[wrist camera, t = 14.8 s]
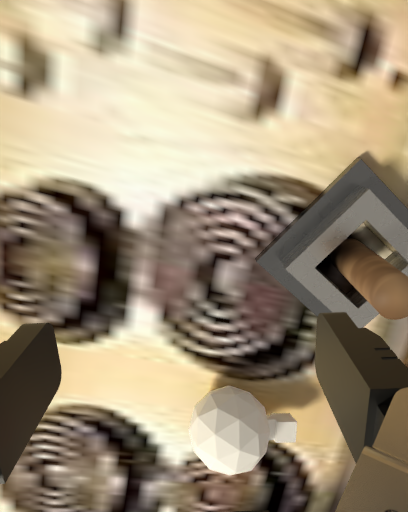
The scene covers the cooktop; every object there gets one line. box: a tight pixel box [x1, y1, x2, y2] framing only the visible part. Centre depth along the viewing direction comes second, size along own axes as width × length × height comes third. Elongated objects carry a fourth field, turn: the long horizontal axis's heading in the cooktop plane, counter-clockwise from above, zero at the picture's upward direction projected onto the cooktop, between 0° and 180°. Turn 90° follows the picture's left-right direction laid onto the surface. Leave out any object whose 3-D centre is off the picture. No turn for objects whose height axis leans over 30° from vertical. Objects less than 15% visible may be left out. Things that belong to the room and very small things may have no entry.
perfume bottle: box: [189, 385, 297, 475], centre depth 42 cm, size 9×9×12 cm
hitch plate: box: [255, 158, 408, 328], centre depth 39 cm, size 14×14×4 cm
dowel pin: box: [331, 238, 408, 319], centre depth 35 cm, size 4×4×11 cm
